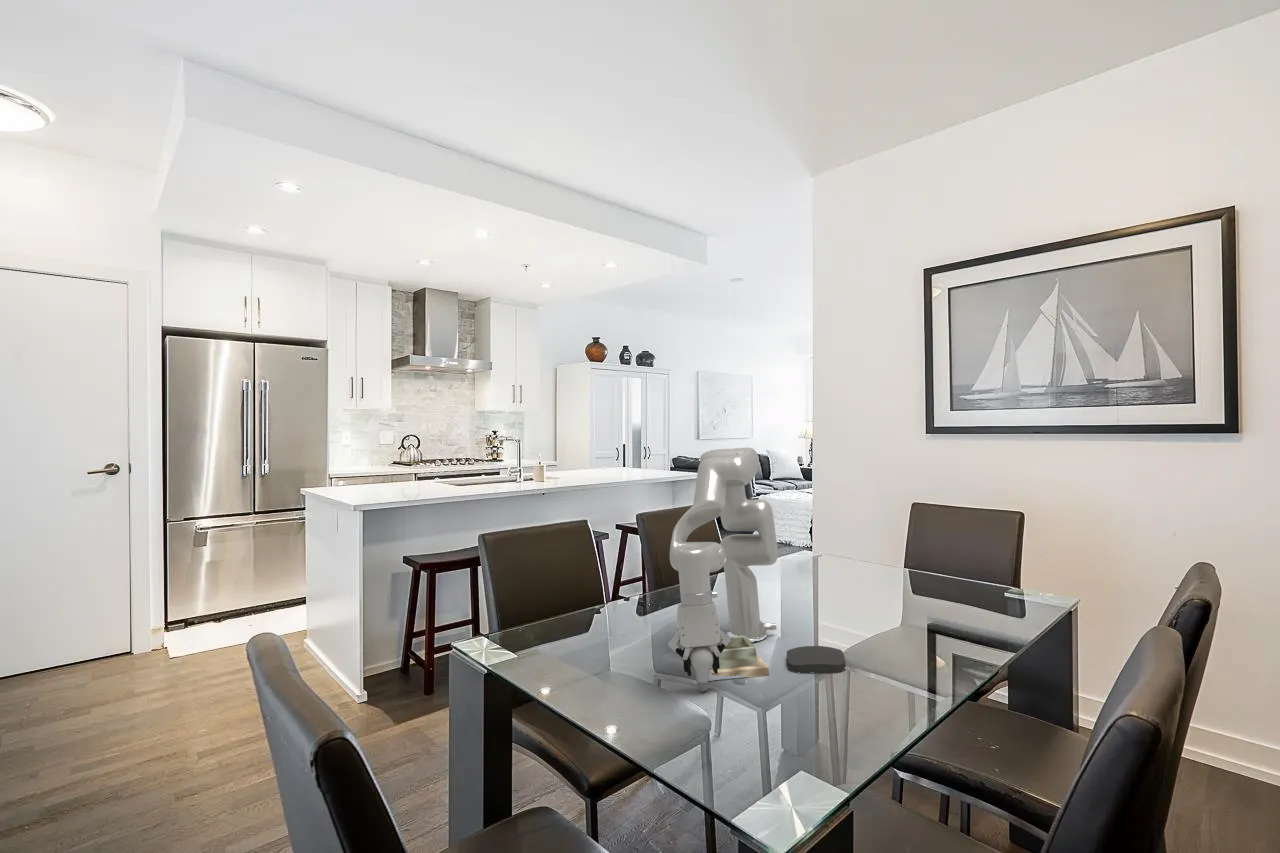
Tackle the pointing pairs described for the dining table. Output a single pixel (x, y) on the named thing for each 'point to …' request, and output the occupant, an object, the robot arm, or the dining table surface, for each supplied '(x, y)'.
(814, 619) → the dining table surface
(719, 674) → the base
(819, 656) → the media streaming box
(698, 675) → the lightbulb
